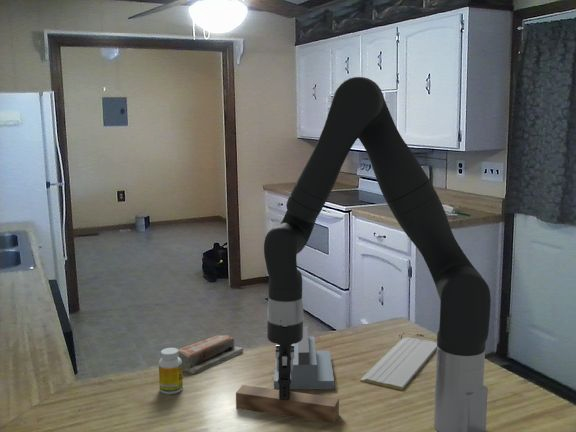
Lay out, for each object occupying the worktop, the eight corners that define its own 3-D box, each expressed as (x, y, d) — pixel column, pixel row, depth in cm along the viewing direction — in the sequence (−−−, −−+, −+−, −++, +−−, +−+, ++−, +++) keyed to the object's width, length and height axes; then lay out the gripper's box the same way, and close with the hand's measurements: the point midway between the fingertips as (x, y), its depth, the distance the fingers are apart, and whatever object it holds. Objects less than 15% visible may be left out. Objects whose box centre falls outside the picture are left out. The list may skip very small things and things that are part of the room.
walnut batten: (338, 415, 126) (338, 398, 125) (334, 424, 122) (334, 406, 121) (243, 401, 132) (242, 384, 132) (236, 409, 129) (235, 392, 128)
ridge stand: (329, 358, 155) (329, 325, 154) (334, 389, 137) (334, 352, 136) (276, 358, 155) (276, 325, 154) (273, 389, 137) (273, 352, 136)
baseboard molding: (354, 381, 142) (402, 393, 136) (354, 370, 142) (402, 381, 136) (398, 340, 169) (439, 347, 163) (398, 330, 168) (439, 337, 162)
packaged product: (193, 357, 145) (166, 348, 151) (193, 376, 146) (167, 366, 152) (243, 336, 159) (217, 328, 165) (243, 353, 160) (218, 345, 166)
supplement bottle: (160, 385, 140) (158, 347, 138) (182, 383, 141) (181, 345, 139) (159, 395, 135) (157, 356, 133) (183, 393, 136) (181, 354, 134)
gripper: (268, 306, 131) (268, 375, 133) (265, 329, 116) (265, 405, 119) (302, 307, 130) (301, 375, 133) (303, 329, 116) (302, 406, 119)
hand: (284, 390), depth 126 cm, fingers open, 8 cm apart
